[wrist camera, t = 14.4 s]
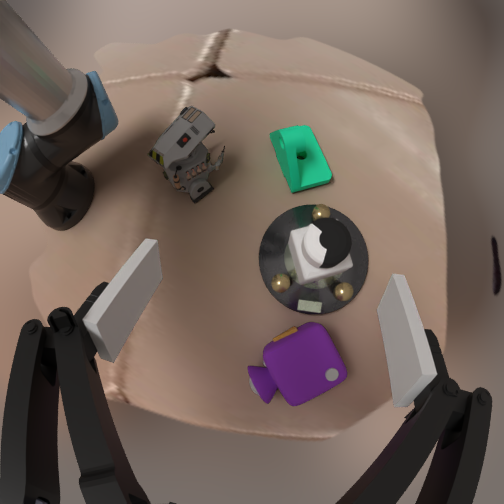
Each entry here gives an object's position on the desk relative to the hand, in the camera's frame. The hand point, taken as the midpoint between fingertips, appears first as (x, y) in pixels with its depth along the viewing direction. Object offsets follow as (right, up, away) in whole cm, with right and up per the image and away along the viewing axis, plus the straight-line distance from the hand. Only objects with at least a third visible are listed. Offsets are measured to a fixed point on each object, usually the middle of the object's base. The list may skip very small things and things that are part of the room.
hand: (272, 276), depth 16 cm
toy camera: (+5, -16, +29) cm, 34 cm away
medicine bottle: (+9, 0, +30) cm, 32 cm away
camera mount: (+8, +18, +36) cm, 41 cm away
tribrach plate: (+9, 0, +32) cm, 33 cm away
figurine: (-11, +16, +37) cm, 41 cm away
